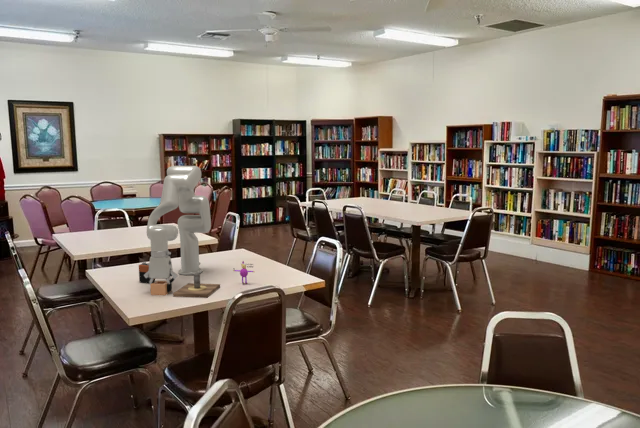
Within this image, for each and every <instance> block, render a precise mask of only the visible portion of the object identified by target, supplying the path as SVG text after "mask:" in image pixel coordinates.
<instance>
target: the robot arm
mask: <svg viewBox="0 0 640 428" xmlns="http://www.w3.org/2000/svg"><path fill="white" fill-rule="evenodd" d="M201 178H202V170H201V168H200V167H199V166H197V165H172V166H169V167H168V168H167V169H166V176H165V177H164V179H163V185H162V192H161V198H160V203H159V205H157V206H156V207H155V208H154V209H153V210H152V212H151V213H150V215H149V216H148V220H147V225H146V236H147V238H148V239H149V240H150V255H151V256H150V257H149V262H148V263H149V271H148V272H146V273H145V274H144V276H145V278H146V279H147V280H148V281H149V283H150V284H152V283H154V281H156V280H157V279H158V280H165V281H167V283H168V284H167V293H168V294H170V293H171V292H172V291H171V290H172V289H173V287H172V284H173V282H174V281H175V280H176V279H177V277H178V274H179V275H183V276H191V275H193V276H194V274H196V273H198V274H202V273H203V269H202V268H200V265H201V262H200V253H199V252H200V251H199V250H200V249H199V239H198V237H197V235H196V234H198V233H199V234H200V233H201V234H202V233H203V234H206V233H209V232H210V230H211V228H212V219H211V208H210V206H211V205H210V201H209V198H208V197H207V196H205V195H195V190H194V189H195V187H196V186H197V185H198V184H199V182H200V180H201ZM178 208H179V212H181V213H183V214H184V215H181V216H180V217H179V218H178V219H177V226H176V225H173V224H157V223H158V220H160V218H161V217H162V216H163V215H165V214H167V213H169V212H171V211H175V210H176V209H178ZM178 236H179V241H180V243H179V244H180V268H181V269H179V270H178V274H177V273H176V272H174V271H173V263H172V259H171V254H172V252H171V251H169V246H168V245H169V242H171V241H175V240H176V239H177V238H178ZM171 277H172V278H171ZM149 283H148V284H149ZM150 284H149V285H150ZM170 291H171V292H170ZM169 292H170V293H169Z"/></svg>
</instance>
